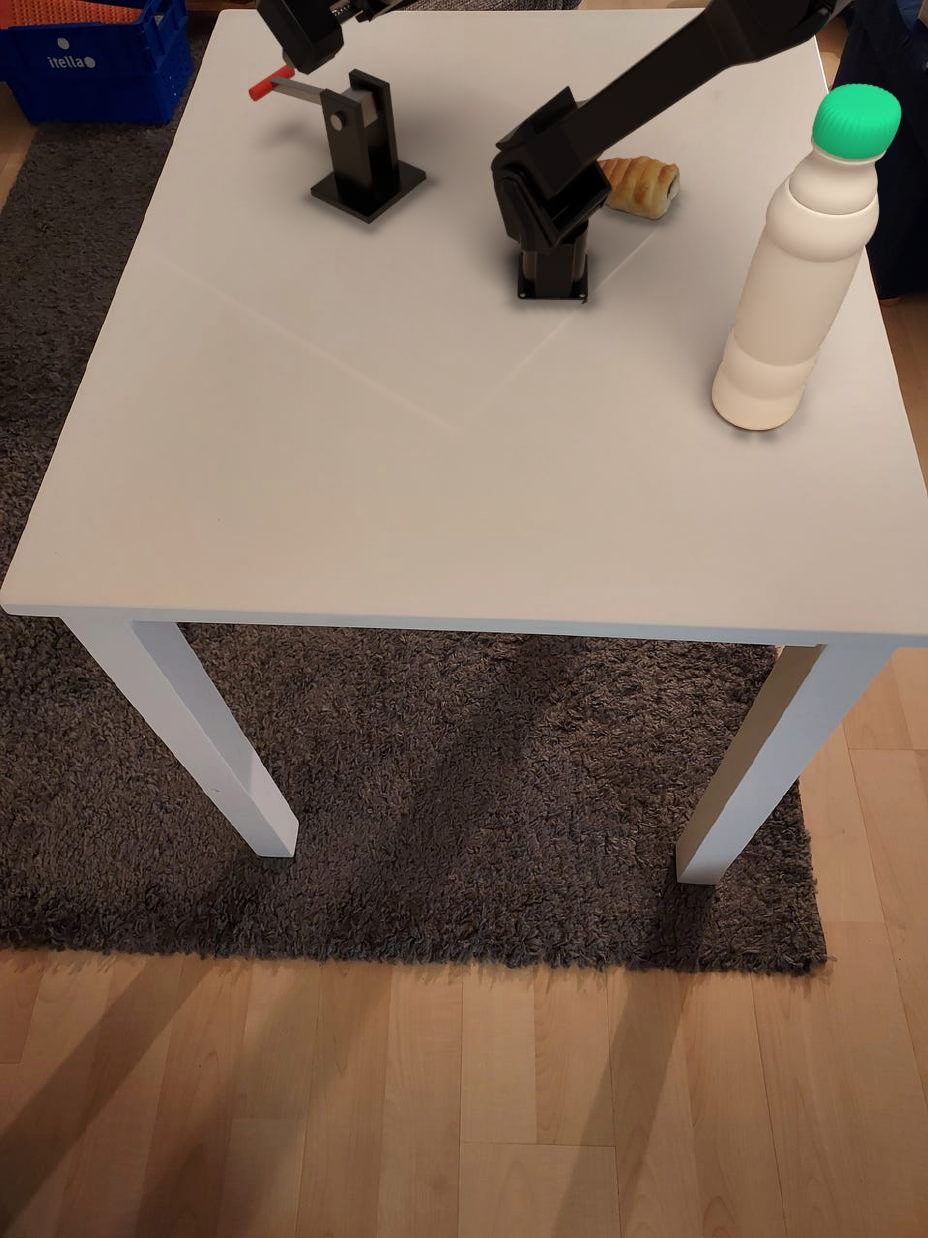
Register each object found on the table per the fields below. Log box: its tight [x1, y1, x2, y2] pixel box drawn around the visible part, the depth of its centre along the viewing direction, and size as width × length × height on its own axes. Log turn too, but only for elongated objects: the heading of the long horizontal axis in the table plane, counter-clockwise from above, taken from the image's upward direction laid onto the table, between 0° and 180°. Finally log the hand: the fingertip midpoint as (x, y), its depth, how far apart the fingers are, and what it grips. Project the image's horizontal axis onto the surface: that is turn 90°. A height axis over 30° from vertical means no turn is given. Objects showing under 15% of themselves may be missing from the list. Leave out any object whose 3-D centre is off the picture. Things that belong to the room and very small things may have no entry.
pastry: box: [597, 155, 681, 220], centre depth 83 cm, size 9×7×4 cm
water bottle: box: [711, 83, 902, 431], centre depth 60 cm, size 7×7×25 cm
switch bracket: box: [309, 68, 427, 225], centre depth 82 cm, size 8×9×10 cm
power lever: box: [248, 63, 378, 127], centre depth 82 cm, size 14×6×2 cm, turn 51°
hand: (322, 39), depth 76 cm, fingers open, 9 cm apart
